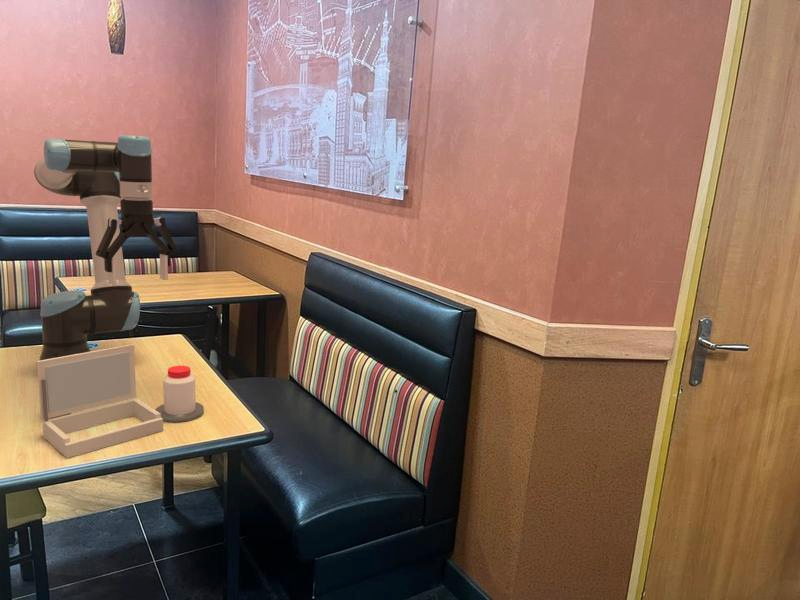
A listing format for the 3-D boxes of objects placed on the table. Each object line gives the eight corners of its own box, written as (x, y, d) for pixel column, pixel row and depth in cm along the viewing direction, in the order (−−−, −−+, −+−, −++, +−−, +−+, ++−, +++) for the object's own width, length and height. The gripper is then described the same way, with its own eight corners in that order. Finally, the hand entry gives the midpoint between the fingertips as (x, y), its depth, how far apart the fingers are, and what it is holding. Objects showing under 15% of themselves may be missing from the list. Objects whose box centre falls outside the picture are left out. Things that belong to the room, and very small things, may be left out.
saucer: (146, 412, 162) (145, 408, 162) (188, 400, 171) (188, 397, 171) (169, 426, 155) (169, 423, 154) (212, 414, 163) (212, 410, 163)
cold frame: (42, 435, 146) (36, 361, 142) (135, 411, 162) (132, 344, 158) (67, 458, 136) (62, 378, 132) (163, 430, 152) (161, 358, 148)
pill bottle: (185, 417, 158) (184, 375, 156) (157, 412, 160) (156, 371, 157) (201, 406, 166) (200, 366, 163) (174, 402, 167) (173, 362, 165)
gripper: (91, 200, 146) (95, 289, 151) (189, 199, 165) (191, 279, 169) (78, 197, 151) (83, 284, 156) (175, 197, 169) (176, 274, 174)
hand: (139, 281), depth 163 cm, fingers open, 13 cm apart
